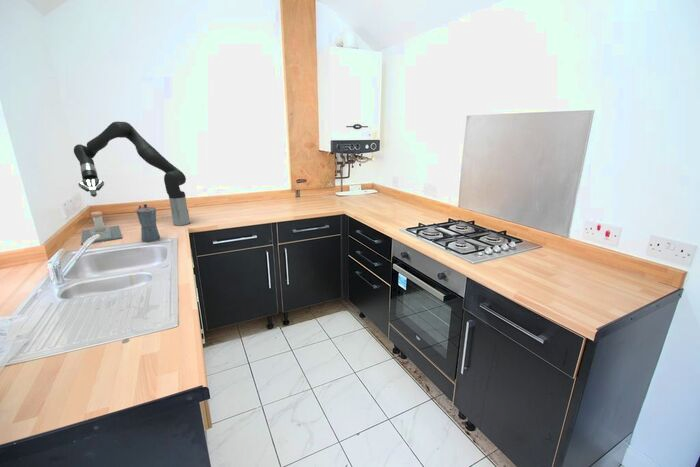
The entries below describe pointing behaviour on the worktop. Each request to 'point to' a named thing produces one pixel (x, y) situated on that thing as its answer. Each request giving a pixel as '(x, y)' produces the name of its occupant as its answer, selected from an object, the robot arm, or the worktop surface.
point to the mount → (102, 233)
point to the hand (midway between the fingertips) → (94, 195)
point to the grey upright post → (98, 221)
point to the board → (115, 236)
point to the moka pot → (148, 223)
